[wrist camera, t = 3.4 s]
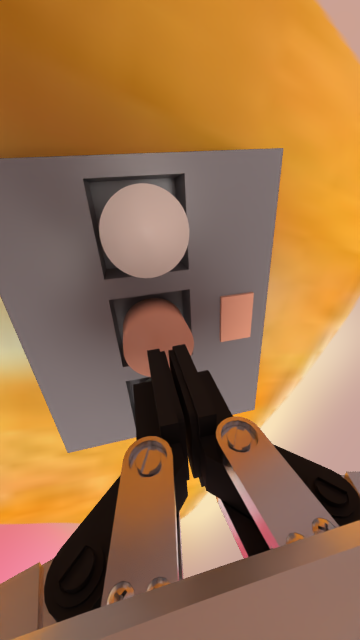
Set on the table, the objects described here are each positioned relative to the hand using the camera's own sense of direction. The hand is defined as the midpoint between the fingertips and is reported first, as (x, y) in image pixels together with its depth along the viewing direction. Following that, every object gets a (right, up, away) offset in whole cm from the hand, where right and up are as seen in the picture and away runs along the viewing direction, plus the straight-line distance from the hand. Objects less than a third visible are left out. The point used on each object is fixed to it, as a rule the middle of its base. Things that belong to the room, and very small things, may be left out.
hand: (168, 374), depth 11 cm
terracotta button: (-1, +2, +4) cm, 4 cm away
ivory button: (-1, +7, +1) cm, 7 cm away
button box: (-2, +3, +6) cm, 7 cm away
